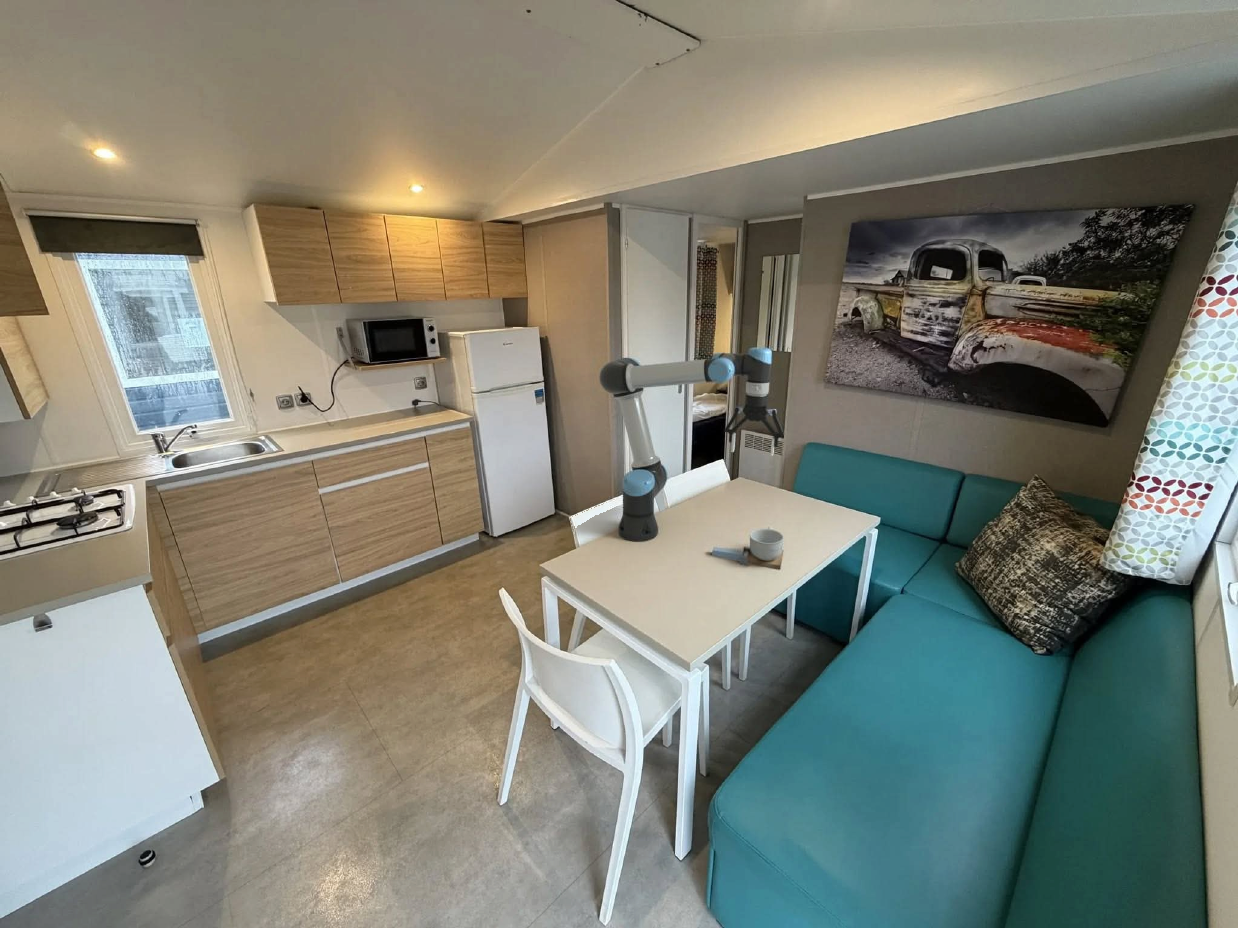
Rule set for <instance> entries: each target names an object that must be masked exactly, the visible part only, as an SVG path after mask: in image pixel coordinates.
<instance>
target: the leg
mask: <svg viewBox="0 0 1238 928" xmlns="http://www.w3.org/2000/svg"><path fill="white" fill-rule="evenodd" d="M743 551H744V550H738V549H731V548H727V547H726V548H724V547H717V546H714V547H713V548H712V552H711V554H712V555H711V556H712V557H715V558H722V559H726V560H732V561H733V560H734V561H736V562H738V561H739V562H740V559H741V555H743ZM748 555H749V552H747V551H745V552H744V555H743V556H748Z"/></svg>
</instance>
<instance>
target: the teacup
mask: <svg viewBox="0 0 1238 928" xmlns="http://www.w3.org/2000/svg"><path fill="white" fill-rule="evenodd" d="M783 545H784V535H783V534H782V533H781V532H780V531H777V530H775V529H774V528H773V527H772V526H769V527H767V528H758V529H754V530H752V531H750V533H749V547H750V550H751V552H752V554H753V555H754V556H756V557H757V558H758V559H761V560H765V561H770V560H774V559H775V558H777V557H779V556H780V555H781V553H782V550H783V547H784V546H783Z"/></svg>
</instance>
